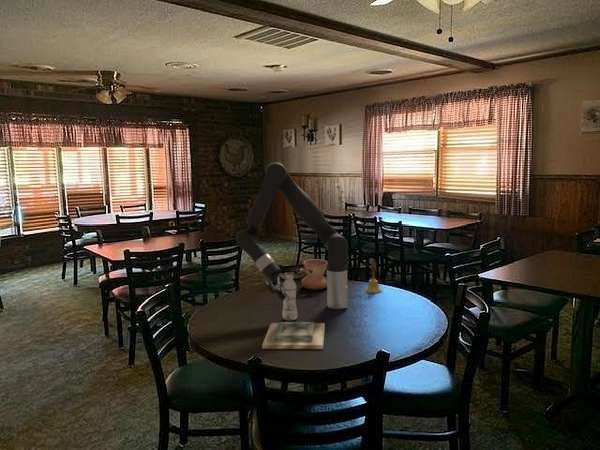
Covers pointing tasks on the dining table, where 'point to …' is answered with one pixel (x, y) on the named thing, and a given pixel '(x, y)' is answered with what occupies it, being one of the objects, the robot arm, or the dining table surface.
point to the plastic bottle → (289, 298)
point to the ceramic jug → (314, 274)
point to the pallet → (294, 343)
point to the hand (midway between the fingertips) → (290, 296)
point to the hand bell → (373, 281)
